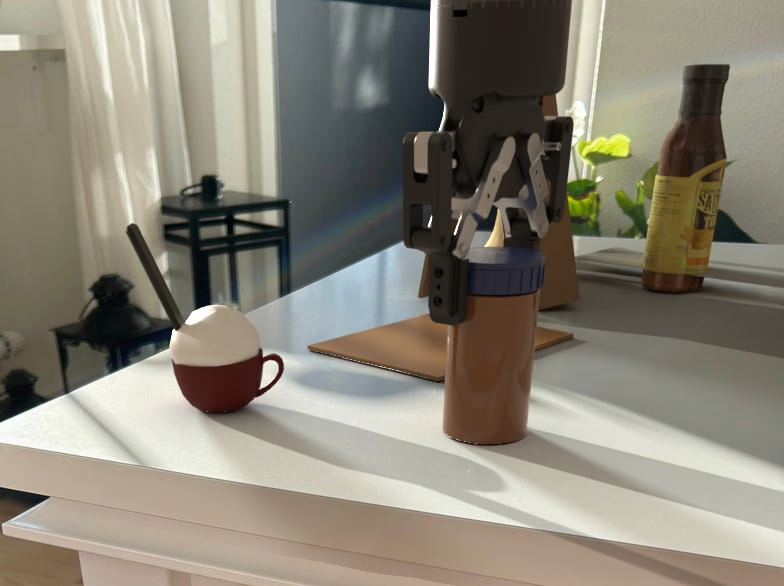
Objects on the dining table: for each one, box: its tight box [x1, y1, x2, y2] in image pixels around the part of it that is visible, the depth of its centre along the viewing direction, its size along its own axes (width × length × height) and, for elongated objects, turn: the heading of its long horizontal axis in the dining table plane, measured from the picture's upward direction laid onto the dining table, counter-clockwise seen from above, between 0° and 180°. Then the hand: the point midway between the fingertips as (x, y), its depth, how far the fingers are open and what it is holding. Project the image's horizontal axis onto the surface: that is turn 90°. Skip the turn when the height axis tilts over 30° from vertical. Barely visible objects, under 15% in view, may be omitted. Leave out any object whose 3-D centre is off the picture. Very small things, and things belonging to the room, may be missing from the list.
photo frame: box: [417, 94, 581, 311], centre depth 99 cm, size 15×22×25 cm
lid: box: [465, 246, 545, 295], centre depth 61 cm, size 6×6×2 cm
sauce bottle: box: [641, 63, 731, 293], centre depth 99 cm, size 6×6×20 cm
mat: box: [306, 312, 574, 382], centre depth 86 cm, size 18×14×1 cm
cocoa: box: [125, 222, 285, 413], centre depth 69 cm, size 10×6×12 cm, turn 60°
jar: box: [442, 289, 540, 445], centre depth 64 cm, size 5×5×10 cm
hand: (483, 310), depth 63 cm, fingers open, 7 cm apart
